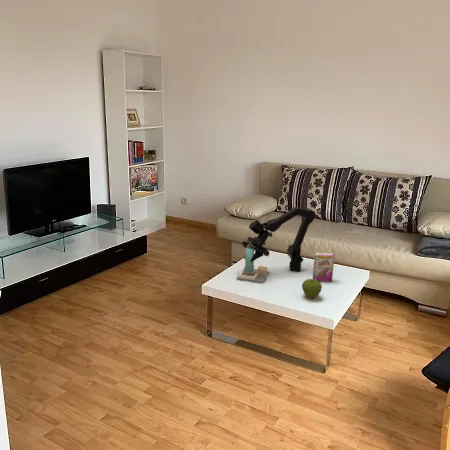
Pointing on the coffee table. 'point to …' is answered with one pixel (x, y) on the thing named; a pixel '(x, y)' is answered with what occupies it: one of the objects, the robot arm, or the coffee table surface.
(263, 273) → the base board
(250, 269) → the teal column
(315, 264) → the candy bar box
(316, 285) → the apple
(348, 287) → the coffee table surface
